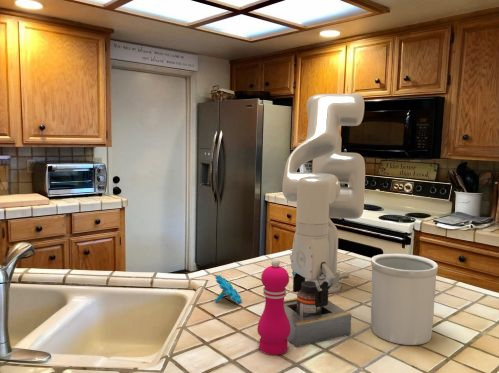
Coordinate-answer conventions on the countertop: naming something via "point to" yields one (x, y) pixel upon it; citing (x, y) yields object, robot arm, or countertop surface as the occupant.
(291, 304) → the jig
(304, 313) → the supplement bottle
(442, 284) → the countertop surface
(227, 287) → the cyan jagged piece
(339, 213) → the robot arm
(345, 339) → the countertop surface
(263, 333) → the pepper mill
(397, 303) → the utensil holder
